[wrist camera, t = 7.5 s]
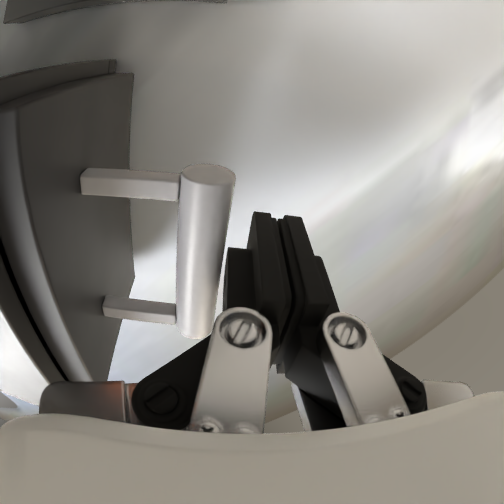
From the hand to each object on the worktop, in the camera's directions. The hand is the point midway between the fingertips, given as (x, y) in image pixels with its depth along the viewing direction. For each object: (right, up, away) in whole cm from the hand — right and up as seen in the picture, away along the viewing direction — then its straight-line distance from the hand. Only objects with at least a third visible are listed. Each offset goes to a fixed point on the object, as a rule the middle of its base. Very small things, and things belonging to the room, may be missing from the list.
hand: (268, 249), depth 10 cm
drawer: (-10, +3, +1) cm, 11 cm away
